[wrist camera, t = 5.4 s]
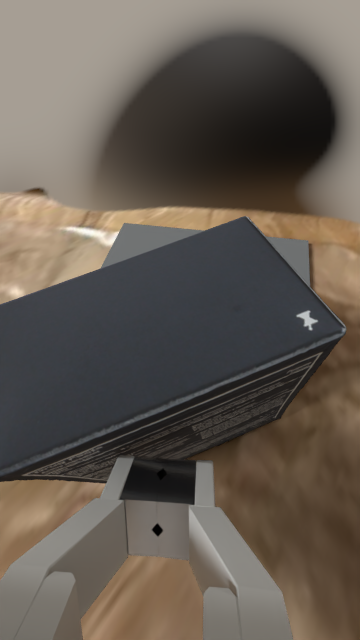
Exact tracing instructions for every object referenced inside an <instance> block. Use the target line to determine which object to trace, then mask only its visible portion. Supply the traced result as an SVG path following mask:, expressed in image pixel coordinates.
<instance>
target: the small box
mask: <svg viewBox="0 0 360 640" xmlns="http://www.w3.org/2000/svg"><path fill="white" fill-rule="evenodd" d="M345 333H346V326H345V325H344V323H343V322H342V321H341V320H340V319H339V318H338V317H337V316H336V315H335V314H334V313H333V312H332V311H331V310H330V308H329V307H328V306H327V305H326V304H325V303H324V302H323V301H322V300H321V298H320V297H319V296H318V295H317V294H316V293H315V292H314V291H313V290H312V288H311V287H310V286H309V285H308V284H307V282H306V281H305V280H304V279H303V278H302V277H301V276H300V275H299V274H298V273H297V271H296V270H295V269H294V268H293V267H292V266H291V265H290V264H289V262H288V261H287V260H286V259H285V258H284V256H283V255H282V254H281V253H280V252H279V251H278V250H277V249H276V248H275V247H274V245H273V244H272V243H271V242H270V241H269V240H268V238H267V237H266V236H265V235H264V234H263V233H262V232H261V231H260V230H259V229H258V228H257V226H256V225H255V224H254V223H253V222H252V221H251V220H250V218H249V217H246V216H244V217H241V218H238V219H236V220H233V221H230V222H228V223H225V224H222V225H219V226H216V227H213V228H211V229H208V230H205V231H203V232H200V233H197V234H195V235H192V236H189V237H186V238H184V239H181V240H178V241H175V242H173V243H170V244H167V245H164V246H162V247H159V248H156V249H153V250H151V251H148V252H145V253H142V254H140V255H137V256H134V257H131V258H129V259H126V260H123V261H120V262H117V263H115V264H112V265H109V266H106V267H104V268H101V269H98V270H95V271H93V272H90V273H87V274H84V275H82V276H79V277H76V278H73V279H70V280H68V281H65V282H62V283H59V284H57V285H54V286H51V287H48V288H46V289H43V290H40V291H37V292H34V293H31V294H28V295H26V296H23V297H20V298H18V299H15V300H12V301H9V302H6V303H3V304H0V482H4V481H14V480H34V479H40V480H47V479H48V480H65V481H78V482H93V483H107V481H108V479H109V476H110V474H111V472H112V470H113V467H114V465H115V463H116V461H117V458H118V457H119V456H120V455H123V456H134V457H136V456H139V457H151V458H163V459H180V460H184V459H186V458H189V457H191V456H193V455H196V454H198V453H200V452H202V451H205V450H208V449H210V448H212V447H214V446H218V445H221V444H223V443H225V442H226V441H229V440H231V439H233V438H236V437H238V436H240V435H244V434H245V433H248V432H250V431H252V430H254V429H256V428H258V427H261V426H263V425H265V424H267V423H270V422H272V421H274V420H277V419H280V418H281V416H282V415H283V413H284V412H285V410H286V408H287V407H288V405H289V404H290V403H291V402H292V400H293V399H294V398H295V396H296V395H297V393H298V392H299V390H300V389H302V388H303V387H304V385H305V384H306V383H307V382H308V380H309V379H310V377H311V376H312V375H313V373H315V372H316V370H317V369H318V367H319V366H320V365H321V364H322V362H323V361H324V360H325V359H326V357H327V356H328V355H329V354H330V352H331V350H332V349H333V348H334V347H335V345H336V344H337V343H338V342H339V340H340V339H341V338H342V337H343V336H344V335H345Z"/></svg>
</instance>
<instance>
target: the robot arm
mask: <svg viewBox="0 0 360 640" xmlns="http://www.w3.org/2000/svg"><path fill="white" fill-rule="evenodd" d="M128 555H138V556H156V557H158V556H159V557H165V558H173V559H181V560H189V563H190V566H191V568H192V571H193V573H194V575H195V578H196V580H197V583H198V585H199V587H200V590H201V592H202V594H203V597H204V605H203V640H293V636H292V632H291V628H290V623H289V619H288V615H287V611H286V606H285V602H284V598H283V594H282V591H281V590H280V589H279V587H278V586H277V584H276V583H275V582H274V580H273V579H272V578H271V576H270V575H269V573H268V572H267V571H266V569H265V568H264V567H263V565H262V564H261V562H260V561H259V560H258V558H257V557H256V556H255V554H254V553H253V551H252V550H251V549H250V547H249V546H248V545H247V543H246V542H245V540H244V539H243V538H242V536H241V535H240V534H239V532H238V531H237V529H236V528H235V527H234V525H233V524H232V523H231V521H230V520H229V518H228V517H227V516H226V514H225V513H224V512H223V510H222V509H221V507H215V490H214V468H213V461H212V460H197V465H196V460H180V459H163V458H151V457H139V456H136V457H134V456H123V455H120V456H119V457H118V458H117V461H116V463H115V465H114V467H113V470H112V472H111V474H110V476H109V479H108V481H107V483H106V485H105V488H104V490H103V492H102V495H101V497H100V499H99V498H95V499H93V500H92V501H91V502H89V503H88V504H87V505H86V506H84V507H83V508H82V509H81V510H79V511H78V512H77V513H76V514H74V515H73V516H72V517H70V518H69V519H68V520H67V521H65V522H64V523H63V524H62V525H60V526H59V527H58V528H56V529H55V530H54V531H53V532H51V533H50V534H49V535H48V536H46V537H45V538H44V539H43V540H41V541H40V542H39V543H37V544H36V545H35V546H34V547H32V548H31V549H30V550H29V551H27V552H26V553H25V554H24V555H22V556H21V557H20V558H18V559H17V560H16V561H15V562H13V563H12V564H11V565H10V567H9V568H8V570H7V571H6V573H5V574H4V576H3V577H2V579H1V581H0V640H83V636H82V628H81V620H80V619H81V618H82V617H83V616H84V614H85V613H86V612H87V610H88V609H89V608H90V606H91V605H92V604H93V602H94V601H95V600H96V598H97V597H98V596H99V595H100V593H101V592H102V591H103V589H104V588H105V587H106V585H107V584H108V583H109V581H110V580H111V579H112V577H113V576H114V575H115V574H116V572H117V571H118V570H119V568H120V567H121V566H122V564H123V563H124V562H125V560H126V559H127V558H128Z"/></svg>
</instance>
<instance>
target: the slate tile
mask: <svg viewBox="0 0 360 640" xmlns="http://www.w3.org/2000/svg"><path fill="white" fill-rule="evenodd" d="M200 232H203V231H202V230H191V229H181V228H170V227H160V226H150V225H139V224H129V223H124V224H123V226H122V228H121V230H120V232H119V234H118V236H117V238H116V240H115V242H114V243H113V245H112V247H111V249H110V251H109V253H108V255H107V257H106V259H105V261H104V263H103V265H102V267H101V268H104V267H106V266H109V265H112V264H115V263H117V262H120V261H123V260H126V259H129V258H131V257H134V256H137V255H140V254H142V253H145V252H148V251H151V250H153V249H156V248H159V247H162V246H164V245H167V244H170V243H173V242H175V241H178V240H181V239H184V238H186V237H189V236H192V235H195V234H197V233H200ZM267 238H268V240H269V241H270V242H271V243H272V244H273V245H274V247H275V248H276V249H277V250H278V251H279V252H280V253H281V254H282V255H283V256H284V258H285V259H286V260H287V261H288V262H289V264H290V265H291V266H292V267H293V268H294V269H295V270H296V271H297V273H298V274H299V275H300V276H301V277H302V278H303V279H304V280H305V281H306V282H307V284H308V285H309V286H310V273H309V247H308V241H306V240H296V239H285V238H275V237H267Z"/></svg>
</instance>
